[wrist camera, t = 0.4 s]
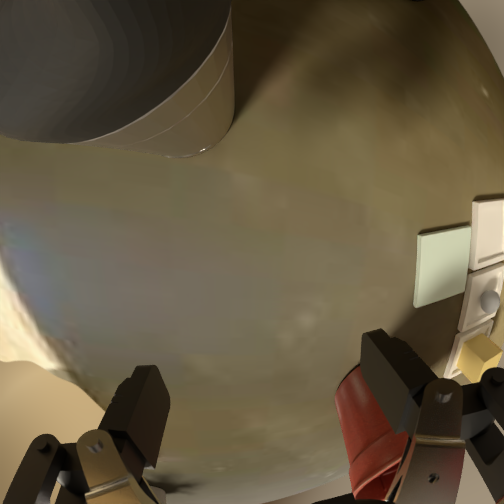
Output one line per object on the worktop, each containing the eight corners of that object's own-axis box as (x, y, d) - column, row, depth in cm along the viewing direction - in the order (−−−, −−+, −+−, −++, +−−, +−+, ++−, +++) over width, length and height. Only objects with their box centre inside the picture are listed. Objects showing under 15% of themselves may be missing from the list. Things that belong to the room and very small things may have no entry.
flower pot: (420, 392, 35) (464, 458, 20) (330, 434, 36) (356, 513, 21) (420, 319, 30) (494, 395, 15) (306, 372, 31) (340, 482, 16)
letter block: (463, 342, 32) (484, 362, 26) (482, 332, 32) (503, 350, 26) (456, 365, 33) (474, 386, 28) (475, 355, 33) (493, 374, 28)
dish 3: (455, 334, 32) (460, 338, 31) (489, 317, 32) (493, 321, 31) (443, 376, 35) (446, 380, 33) (476, 358, 35) (480, 361, 33)
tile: (417, 234, 27) (421, 236, 26) (467, 225, 27) (471, 226, 26) (412, 305, 30) (416, 308, 29) (461, 289, 30) (464, 291, 29)
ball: (478, 289, 29) (493, 299, 26) (491, 283, 29) (506, 292, 26) (474, 310, 30) (488, 320, 27) (487, 304, 30) (501, 313, 27)
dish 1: (472, 201, 26) (478, 203, 25) (505, 197, 26) (511, 199, 25) (468, 267, 29) (473, 270, 28) (501, 256, 29) (506, 258, 28)
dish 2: (467, 274, 29) (472, 277, 28) (500, 262, 29) (505, 264, 28) (457, 329, 32) (461, 332, 31) (490, 312, 32) (495, 315, 31)
